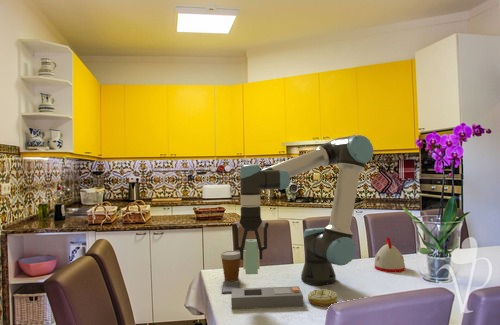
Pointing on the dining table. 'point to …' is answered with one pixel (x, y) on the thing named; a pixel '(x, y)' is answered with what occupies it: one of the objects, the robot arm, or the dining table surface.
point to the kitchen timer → (389, 259)
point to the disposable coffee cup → (231, 265)
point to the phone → (229, 287)
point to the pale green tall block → (251, 256)
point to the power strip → (266, 297)
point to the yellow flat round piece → (322, 297)
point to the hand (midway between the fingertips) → (251, 268)
